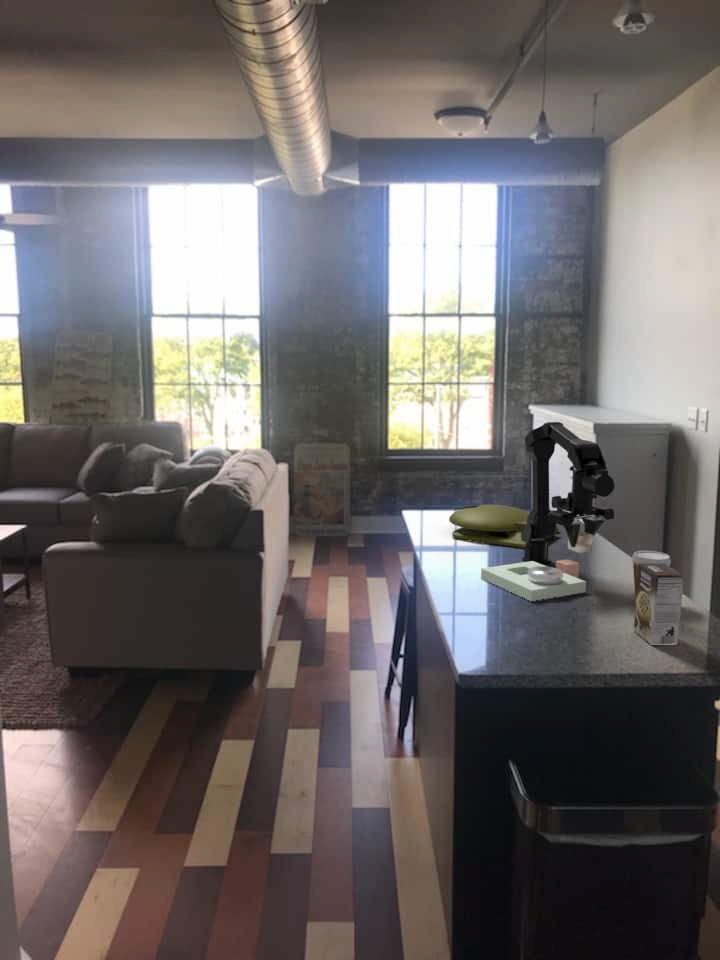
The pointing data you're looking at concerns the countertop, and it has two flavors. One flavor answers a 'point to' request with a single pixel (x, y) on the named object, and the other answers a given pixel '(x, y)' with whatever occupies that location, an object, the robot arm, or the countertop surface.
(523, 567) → the pocket deck
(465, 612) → the countertop surface
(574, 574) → the terracotta cube
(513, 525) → the spaceship
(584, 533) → the birch cube
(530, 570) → the metal puck
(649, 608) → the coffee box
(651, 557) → the disposable coffee cup
